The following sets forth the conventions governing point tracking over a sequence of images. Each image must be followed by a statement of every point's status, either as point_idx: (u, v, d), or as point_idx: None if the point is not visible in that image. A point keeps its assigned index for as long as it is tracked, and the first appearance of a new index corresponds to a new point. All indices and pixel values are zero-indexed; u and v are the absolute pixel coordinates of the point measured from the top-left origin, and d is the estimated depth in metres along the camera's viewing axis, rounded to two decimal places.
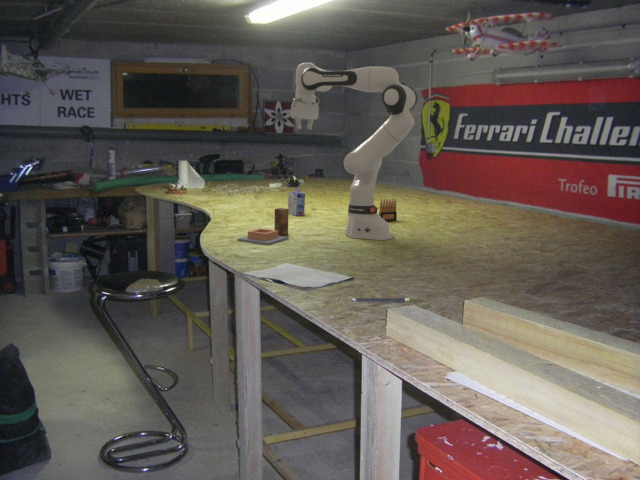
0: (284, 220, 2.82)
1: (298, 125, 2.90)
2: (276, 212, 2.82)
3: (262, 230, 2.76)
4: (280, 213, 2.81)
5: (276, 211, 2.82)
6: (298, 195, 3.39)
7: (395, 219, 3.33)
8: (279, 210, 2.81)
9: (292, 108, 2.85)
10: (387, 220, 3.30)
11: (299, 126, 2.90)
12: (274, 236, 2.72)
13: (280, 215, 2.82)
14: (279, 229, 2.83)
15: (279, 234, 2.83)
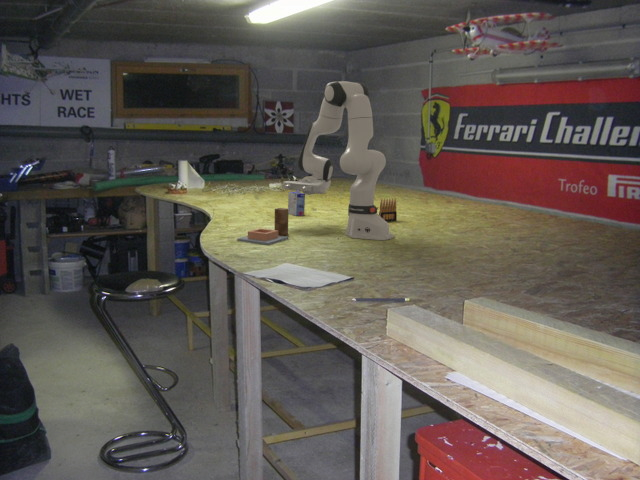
0: (284, 220, 2.82)
1: None
2: (276, 212, 2.82)
3: (262, 230, 2.76)
4: (280, 213, 2.81)
5: (276, 211, 2.82)
6: (298, 195, 3.39)
7: (395, 219, 3.33)
8: (279, 210, 2.81)
9: None
10: (387, 220, 3.30)
11: None
12: (274, 236, 2.72)
13: (280, 215, 2.82)
14: (279, 229, 2.83)
15: (279, 234, 2.83)
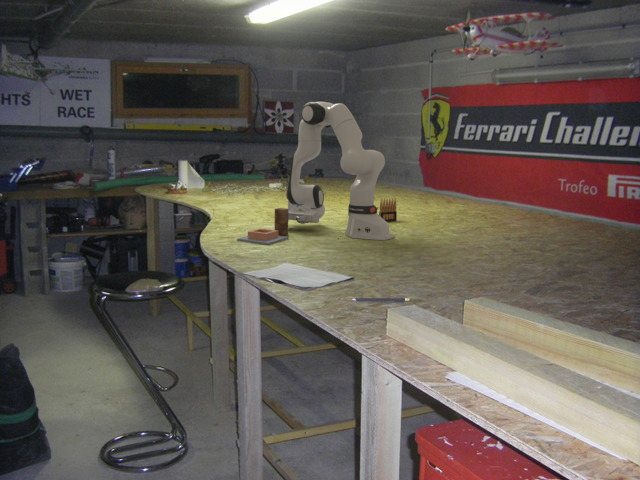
0: (284, 220, 2.82)
1: None
2: (276, 212, 2.82)
3: (262, 230, 2.76)
4: (280, 213, 2.82)
5: (276, 211, 2.82)
6: None
7: (395, 219, 3.33)
8: (279, 210, 2.81)
9: None
10: (387, 220, 3.30)
11: None
12: (274, 236, 2.72)
13: (280, 215, 2.82)
14: (279, 229, 2.83)
15: (279, 234, 2.83)
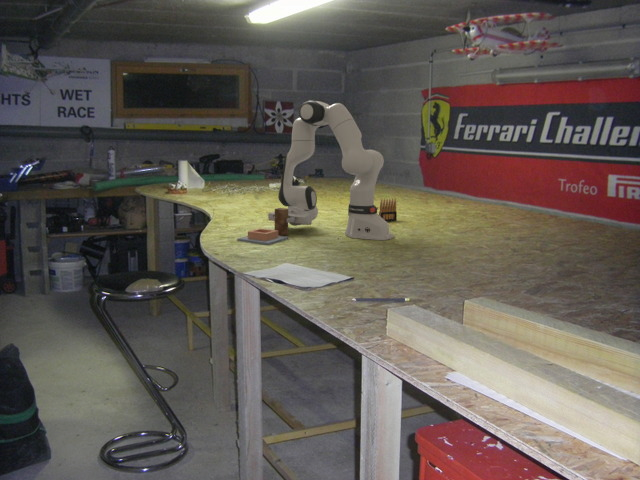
0: (284, 220, 2.82)
1: None
2: (276, 212, 2.82)
3: (262, 230, 2.76)
4: (280, 213, 2.81)
5: (276, 211, 2.82)
6: None
7: (395, 219, 3.33)
8: (279, 210, 2.81)
9: None
10: (387, 220, 3.30)
11: None
12: (274, 236, 2.72)
13: (280, 215, 2.82)
14: (279, 229, 2.83)
15: (279, 234, 2.83)
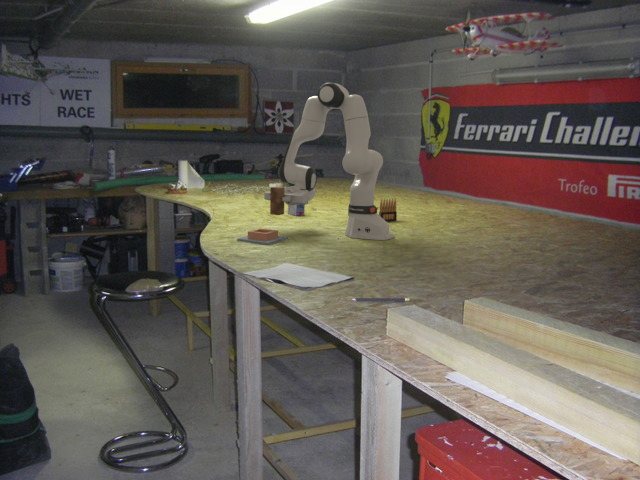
0: (280, 199, 2.78)
1: None
2: (272, 191, 2.78)
3: (262, 230, 2.76)
4: (275, 191, 2.77)
5: (272, 190, 2.78)
6: None
7: (395, 219, 3.33)
8: (275, 189, 2.77)
9: None
10: (387, 220, 3.30)
11: None
12: (274, 236, 2.72)
13: (276, 194, 2.77)
14: (275, 208, 2.78)
15: (275, 213, 2.79)
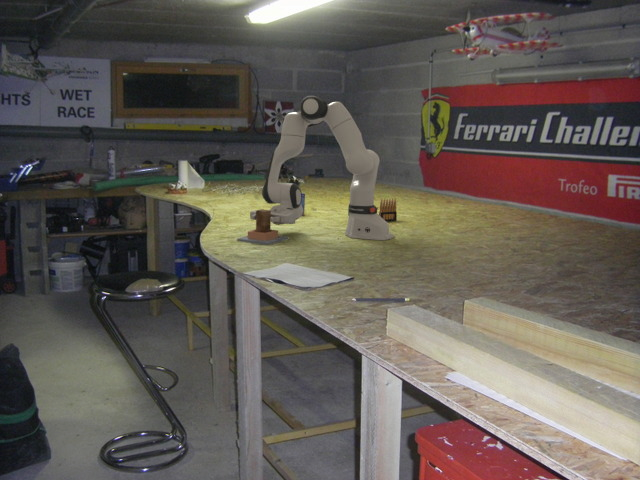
0: (266, 222, 2.69)
1: None
2: (257, 214, 2.69)
3: None
4: (261, 215, 2.68)
5: (257, 213, 2.69)
6: None
7: (395, 219, 3.33)
8: (261, 212, 2.68)
9: None
10: (387, 220, 3.30)
11: None
12: (274, 236, 2.72)
13: (261, 217, 2.69)
14: (261, 231, 2.70)
15: None
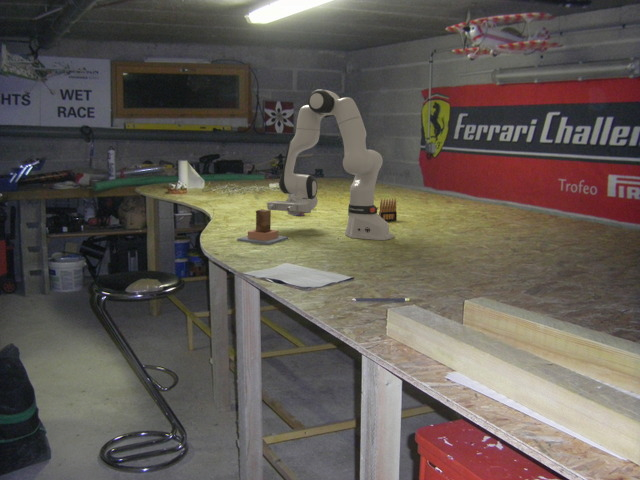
0: (266, 222, 2.69)
1: None
2: (257, 214, 2.69)
3: None
4: (261, 215, 2.68)
5: (257, 213, 2.69)
6: None
7: (395, 219, 3.33)
8: (261, 212, 2.68)
9: None
10: (387, 220, 3.30)
11: None
12: (274, 236, 2.72)
13: (261, 217, 2.69)
14: (261, 231, 2.70)
15: None
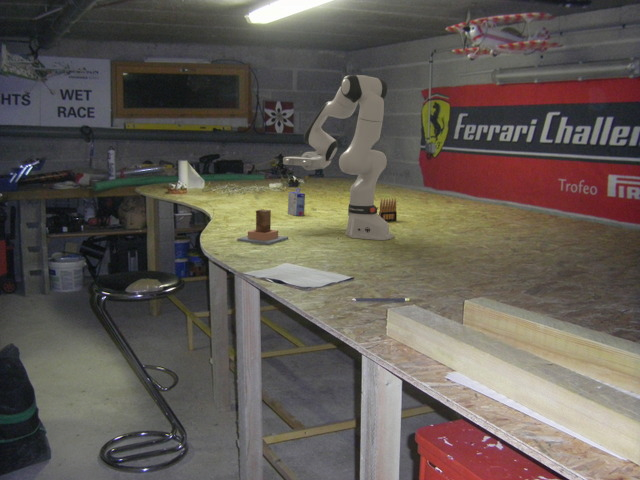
0: (266, 222, 2.69)
1: None
2: (257, 214, 2.69)
3: None
4: (261, 215, 2.68)
5: (257, 213, 2.69)
6: (298, 195, 3.39)
7: (395, 219, 3.33)
8: (261, 212, 2.68)
9: None
10: (387, 220, 3.30)
11: None
12: (274, 236, 2.72)
13: (261, 217, 2.69)
14: (261, 231, 2.70)
15: None
